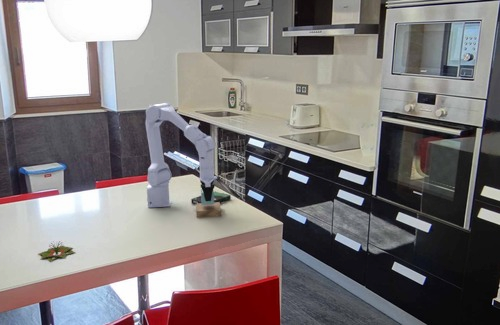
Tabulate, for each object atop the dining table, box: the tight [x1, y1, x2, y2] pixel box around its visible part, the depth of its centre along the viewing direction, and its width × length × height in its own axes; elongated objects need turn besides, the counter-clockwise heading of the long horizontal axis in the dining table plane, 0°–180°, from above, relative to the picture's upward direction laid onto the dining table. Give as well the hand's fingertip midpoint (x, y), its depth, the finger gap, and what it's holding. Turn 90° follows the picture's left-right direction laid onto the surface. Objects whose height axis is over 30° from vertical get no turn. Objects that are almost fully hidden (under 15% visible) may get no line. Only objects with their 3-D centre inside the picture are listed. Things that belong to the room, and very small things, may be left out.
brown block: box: [195, 202, 222, 218], centre depth 189 cm, size 10×10×3 cm
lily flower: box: [38, 241, 76, 262], centre depth 152 cm, size 12×12×5 cm
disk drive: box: [190, 191, 232, 206], centre depth 202 cm, size 10×3×15 cm
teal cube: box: [200, 188, 215, 205], centre depth 187 cm, size 5×5×5 cm
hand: (207, 198), depth 188 cm, fingers closed on teal cube, 5 cm apart
